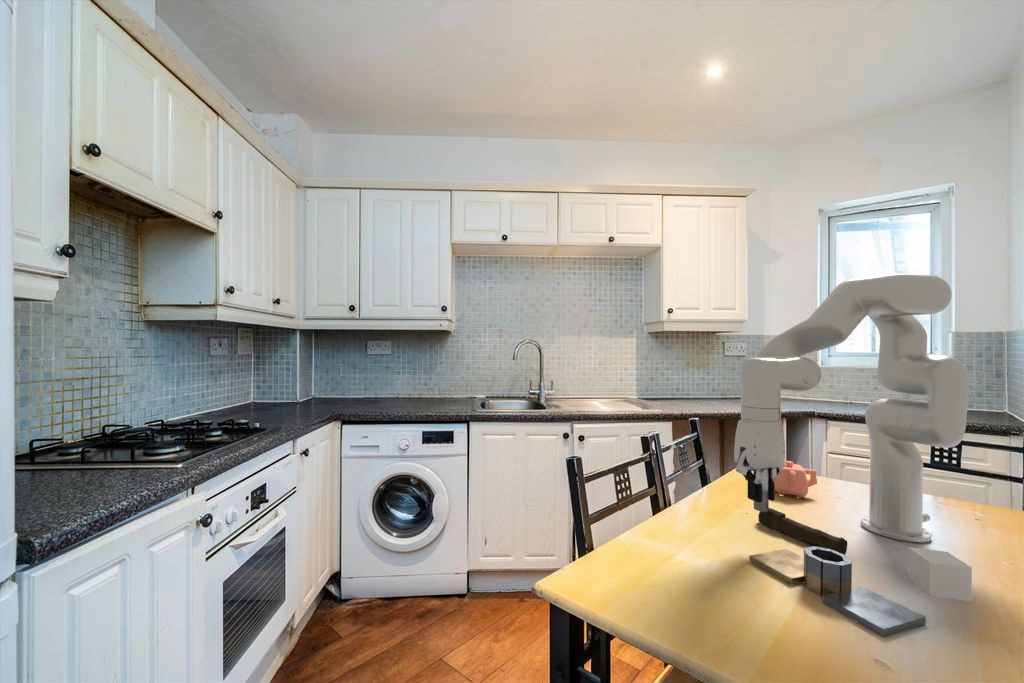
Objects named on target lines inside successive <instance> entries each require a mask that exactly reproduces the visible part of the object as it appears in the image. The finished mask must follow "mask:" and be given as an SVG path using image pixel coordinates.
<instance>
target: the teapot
mask: <svg viewBox="0 0 1024 683" xmlns="http://www.w3.org/2000/svg"><path fill="white" fill-rule="evenodd" d="M784 463H785V467H784V468H783V469H782V470H780V472H779V473H778V475H777V481H776V482H775V492H777V494H780V495H785V496H786V495H792V496H793V495H795V498H796V497H799V498H804V497H806V496H807V495H808V493H809V488H810V487H812V486H815V485H817V484H818V480H817V472H816V470H815V469H810V468H804V467H803V466H802V465H800V464H796V463H794V462H793V461H790V460H785V462H784ZM807 474H809V478H810V479H808V478H807ZM799 498H798V499H799Z"/></svg>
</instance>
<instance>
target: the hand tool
mask: <svg viewBox="0 0 1024 683" xmlns="http://www.w3.org/2000/svg"><path fill="white" fill-rule="evenodd" d="M786 515H787V514H786V513H784V512H781V511H778V510H776V509H774V508H771V507H769V511H767V512H762V511H758V518H757V519H758V522H759V523H760V524H762V525H763V526H764V527H766V528H768V529H770V530H772V531H774V532H776V533H785V534H787V535H789V536H792V537H794V538H797V539H798V540H799V539H800V540H802V542H803V541H804V542H805V543H808V544H811V545H812V546H814V547H815V546H816V547H821V548H826V549H831V550H834V551H837V552H839V553H841V554H843V555H846V554H847V550H848V540H846V539H845V538H844V537H837V536H834V535H831V534H830V533H828V532H825V531H823V530H819V529H818V528H815V527H811V526H808V525H806V524H802V523H800V522H797V521H795V520H793V519H791V518H789V517H786Z"/></svg>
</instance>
